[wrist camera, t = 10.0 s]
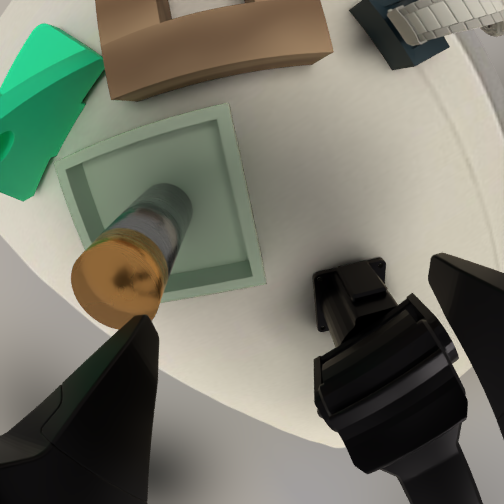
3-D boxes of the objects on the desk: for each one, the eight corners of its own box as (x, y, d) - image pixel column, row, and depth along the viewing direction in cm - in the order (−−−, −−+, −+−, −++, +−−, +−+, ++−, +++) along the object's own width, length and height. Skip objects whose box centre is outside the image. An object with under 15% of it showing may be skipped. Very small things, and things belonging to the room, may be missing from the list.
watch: (439, 44, 14) (540, 35, 4) (376, 79, 16) (487, 71, 6) (401, -12, 12) (490, -51, 2) (330, 17, 14) (412, -46, 4)
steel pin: (184, 176, 18) (136, 238, 9) (199, 230, 20) (172, 325, 11) (131, 191, 19) (56, 259, 10) (148, 241, 20) (96, 333, 11)
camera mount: (57, 25, 12) (-29, 3, 3) (115, 63, 15) (26, 39, 6) (-6, 146, 16) (-88, 179, 7) (40, 191, 18) (-42, 245, 9)
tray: (262, 262, 22) (266, 283, 20) (125, 288, 23) (114, 309, 20) (229, 104, 17) (228, 102, 14) (74, 154, 17) (53, 162, 15)
